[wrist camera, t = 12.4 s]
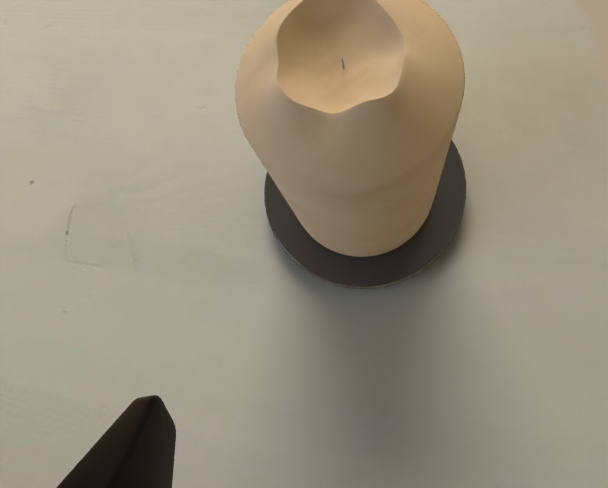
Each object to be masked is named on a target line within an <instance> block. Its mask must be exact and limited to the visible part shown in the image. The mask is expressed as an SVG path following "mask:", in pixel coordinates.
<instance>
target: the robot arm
mask: <svg viewBox="0 0 608 488" xmlns="http://www.w3.org/2000/svg"><path fill="white" fill-rule="evenodd" d="M175 441H176V429H175V425H174V422H173V420H172V418H171V416H170V414H169V413H168V411H167V409H166V407H165V405H164V403H163V401H162V400H161V398H160V397H159V396H155V395H153V396H147V397H140V398H137V399H135V400H134V401H133V402H132V403H131V404H130V405H129V407H128V408H127V409H126V410H125V411H124V412H123V413H122V414H121V416H120V417H119V418H118V419H117V420H116V421H115V422H114V423H113V425H112V426H111V427H110V428H109V429H108V430H107V431H106V432H105V434H104V435H103V436H102V437H101V438H100V439H99V440H98V441H97V443H96V444H95V445H94V446H93V447H92V448H91V449H90V451H89V452H88V453H87V454H86V455H85V456H84V457H83V458H82V460H81V461H80V462H79V463H78V464H77V465H76V466H75V467H74V469H73V470H72V471H71V472H70V473H69V474H68V475H67V476H66V478H65V479H64V480H63V481H62V482H61V483H60V484H59V485H58V487H57V488H172V479H173V466H174V454H175Z"/></svg>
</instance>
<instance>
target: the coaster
mask: <svg viewBox="0 0 608 488" xmlns="http://www.w3.org/2000/svg"><path fill="white" fill-rule="evenodd" d="M264 191H265V206H266V213H267V217H268V220H269V223H270V226H271V228H272V231H273V233H274V235H275V237H276V239H277V240H278V242H279V243H280V245H281V246H282V248H283V249H284V250H285V251H286V253H287V254H288V255H289V256H290V257H291V258H292V259H293V260H294V261H295V262H296V263H297V264H298V265H299V266H300V267H301V268H303V269H304V270H305V271H307V272H308V273H310V274H311V275H313V276H315V277H317V278H319V279H321V280H323V281H325V282H328V283H331V284H334V285H337V286H341V287H346V288H354V289H373V288H381V287H386V286H390V285H393V284H396V283H399V282H402V281H404V280H407V279H409V278H411V277H413V276H415V275H416V274H418V273H419V272H421V271H422V270H424V269H425V268H427V267H428V266H429V265H430V264H431V263H432V262H433V261H435V260H436V259H437V258H438V256H439V255H440V254H441V253H442V252H443V251H444V250H445V248H446V247H447V245H448V244H449V242H450V240H451V239H452V237H453V235H454V233H455V231H456V229H457V227H458V225H459V223H460V220H461V217H462V214H463V210H464V205H465V199H466V179H465V171H464V168H463V164H462V160H461V157H460V155H459V153H458V150H457V148H456V146H455V144H454V143H453V141H452V139H451V143H450V146H449V149H448V153H447V156H446V160H445V163H444V166H443V170H442V173H441V177H440V180H439V183H438V187H437V190H436V193H435V197H434V200H433V203H432V206H431V208H430V211H429V214H428V216H427V218H426V220H425V222H424V223H423V225H422V226H421V227H420V229H419V230H418V231H417V232H416V233H415V234H414V235H413V237H411V238H410V239H409V240H408V241H407V242H405V243H404V244H402V245H401V246H399V247H397V248H396V249H394V250H391V251H389V252H387V253H383V254H380V255H376V256H370V257H355V256H348V255H343V254H340V253H337V252H334V251H332V250H330V249H328V248H326V247H324V246H323V245H321V244H320V243H318V242H317V241H316V240H315V239H314V238H313V237H312V236H310V234H309V233H308V232H307V231H306V230H305V228H304V227H303V226H302V224H301V223H300V221H299V220H298V218H297V217H296V215H295V213H294V212H293V210H292V209H291V207H290V206H289V204H288V203H287V201H286V200H285V198H284V196H283V195H282V193H281V192H280V190H279V189H278V187H277V186H276V184H275V182H274V181H273V179H272V178H271V176H270V175H269V173H268V172H267V175H266V180H265V190H264Z"/></svg>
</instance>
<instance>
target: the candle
mask: <svg viewBox="0 0 608 488" xmlns="http://www.w3.org/2000/svg"><path fill="white" fill-rule="evenodd" d="M464 84H465V73H464V63H463V59H462V55H461V51H460V48H459V46H458V43H457V41H456V38H455V36H454V35H453V33H452V31H451V30H450V28H449V26H448V25H447V23H446V22H445V21H444V20H443V19H442V17H441V16H440V15H439V14H438V13H437V12H436V11H435V10H434V9H433V8H432V7H431V6H429V5H428V4H427V3H425V2H424V1H422V0H290V1H289V2H287V3H285V4H284V5H282V6H281V7H280V8H279V9H277V10H276V11H275V12H274V13H272V14H271V15H270V16H269V17H268V18H267V19H266V20H265V21H264V22H263V24H262V25H261V26H260V27H259V29H258V30H257V31H256V32H255V34H254V35H253V37H252V38H251V40H250V42H249V43H248V45H247V47H246V49H245V51H244V54H243V56H242V58H241V61H240V64H239V68H238V71H237V77H236V84H235V102H236V110H237V115H238V118H239V122H240V125H241V128H242V130H243V132H244V134H245V137H246V138H247V140H248V142H249V143H250V145H251V146H252V148H253V150H254V151H255V153H256V154H257V156H258V158H259V159H260V161H261V162H262V164H263V165H264V167H265V168H266V170H267V172H268V173H269V175H270V176H271V178H272V179H273V181H274V182H275V184H276V186H277V187H278V189H279V190H280V192H281V193H282V195H283V196H284V198H285V200H286V201H287V203H288V204H289V206H290V207H291V209H292V210H293V212H294V213H295V215H296V217H297V218H298V220H299V221H300V223H301V224H302V226H303V227H304V228H305V230H306V231H307V232H308V233H309V234H310V236H312V237H313V238H314V239H315V240H316V241H317V242H318V243H320V244H321V245H323V246H324V247H326V248H328V249H330V250H332V251H334V252H337V253H340V254H343V255H348V256H355V257H370V256H376V255H380V254H383V253H387V252H389V251H391V250H394V249H396V248H397V247H399V246H401V245H402V244H404V243H405V242H407V241H408V240H409V239H410V238H411V237H413V235H414V234H415V233H416V232H417V231H418V230H419V229H420V227H421V226H422V225H423V223H424V222H425V220H426V218H427V216H428V214H429V211H430V208H431V206H432V203H433V200H434V197H435V193H436V190H437V187H438V183H439V180H440V177H441V173H442V170H443V166H444V163H445V160H446V156H447V153H448V149H449V146H450V143H451V139H452V136H453V132H454V129H455V126H456V122H457V119H458V115H459V112H460V108H461V104H462V99H463V95H464Z"/></svg>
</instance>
